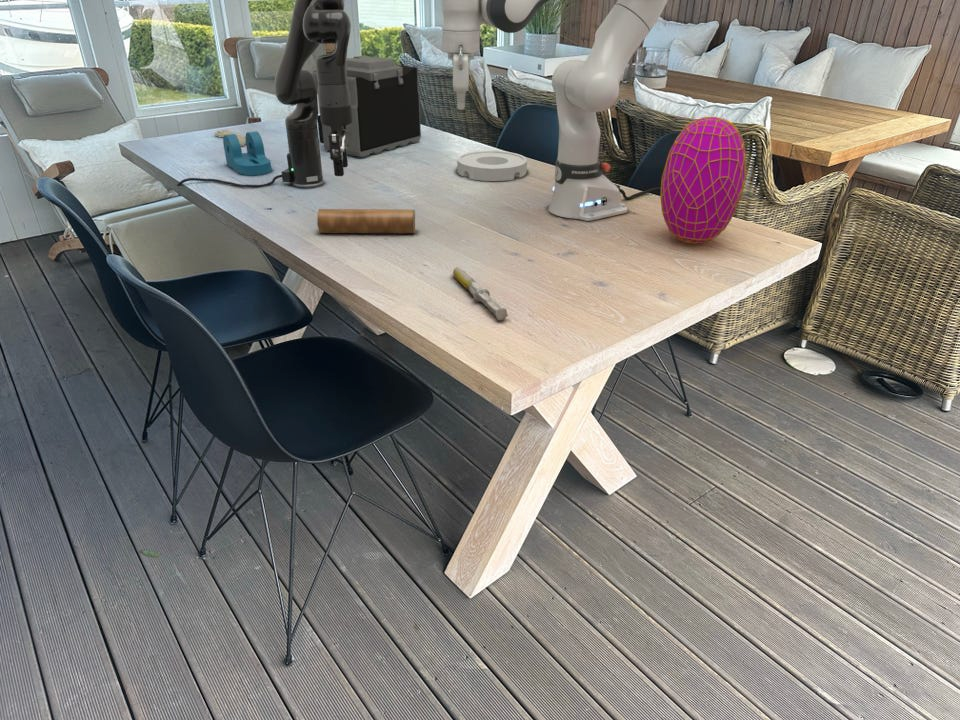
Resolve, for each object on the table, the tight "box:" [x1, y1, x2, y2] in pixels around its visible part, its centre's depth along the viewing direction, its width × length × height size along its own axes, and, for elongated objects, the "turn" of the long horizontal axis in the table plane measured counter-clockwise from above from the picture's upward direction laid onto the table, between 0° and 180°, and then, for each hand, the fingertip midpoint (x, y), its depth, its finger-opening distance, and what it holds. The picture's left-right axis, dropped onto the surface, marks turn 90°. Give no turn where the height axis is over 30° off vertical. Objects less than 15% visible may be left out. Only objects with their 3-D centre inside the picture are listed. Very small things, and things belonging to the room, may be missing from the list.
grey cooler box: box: [310, 55, 422, 159], centre depth 250 cm, size 37×22×30 cm, turn 144°
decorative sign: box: [214, 129, 246, 147], centre depth 266 cm, size 26×1×10 cm
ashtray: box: [456, 150, 528, 182], centre depth 228 cm, size 23×23×4 cm
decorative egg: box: [659, 116, 747, 244], centre depth 167 cm, size 19×19×30 cm
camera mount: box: [222, 131, 272, 176], centre depth 226 cm, size 18×10×10 cm, turn 35°
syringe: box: [452, 266, 509, 321], centre depth 145 cm, size 25×4×3 cm, turn 21°
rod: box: [316, 208, 416, 234], centre depth 176 cm, size 24×6×6 cm, turn 91°
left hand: (341, 171), depth 172 cm, fingers open, 8 cm apart
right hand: (461, 105), depth 168 cm, fingers open, 8 cm apart
